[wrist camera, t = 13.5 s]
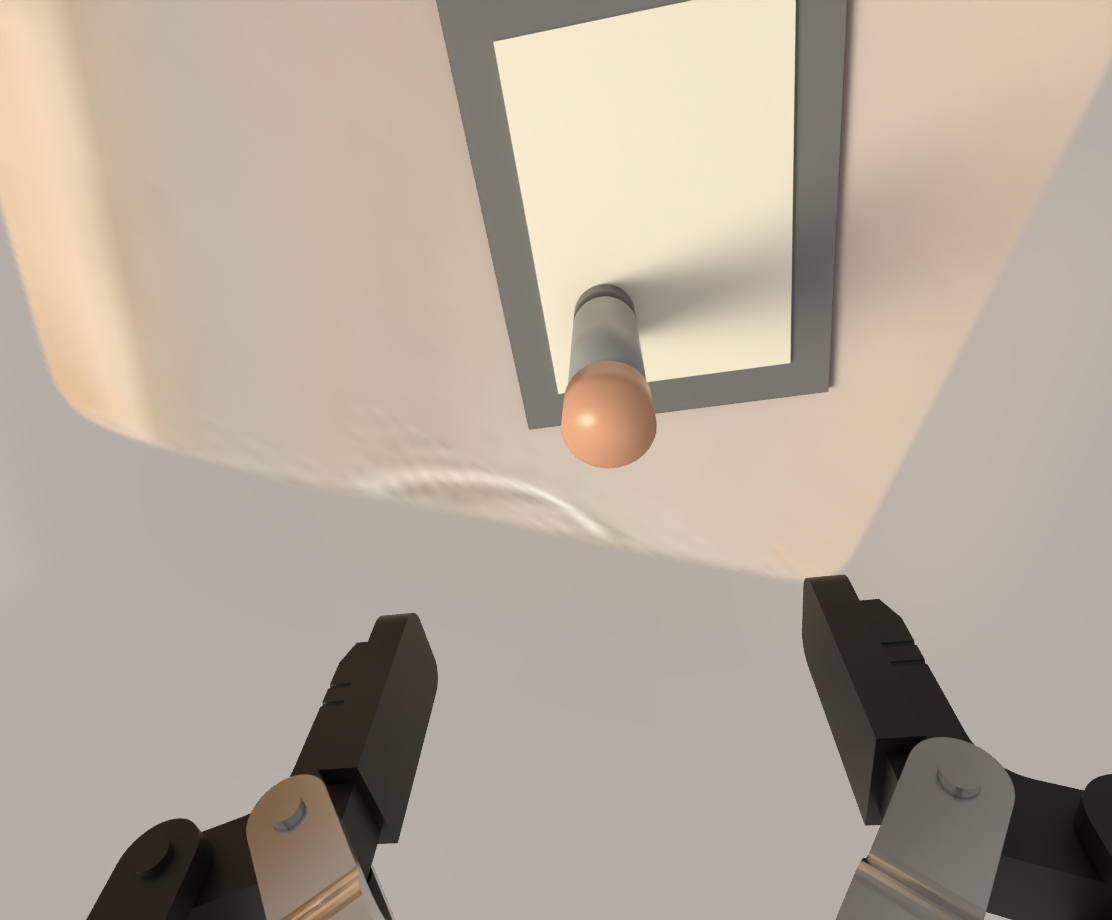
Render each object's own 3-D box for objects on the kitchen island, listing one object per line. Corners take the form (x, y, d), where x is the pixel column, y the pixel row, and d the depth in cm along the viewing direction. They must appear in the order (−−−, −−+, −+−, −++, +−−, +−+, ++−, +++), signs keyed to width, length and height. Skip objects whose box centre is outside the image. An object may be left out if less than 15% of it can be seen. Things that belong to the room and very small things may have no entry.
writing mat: (436, -6, 26) (433, -7, 26) (848, -97, 24) (853, -101, 24) (529, 426, 36) (528, 431, 36) (825, 388, 34) (829, 393, 34)
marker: (567, 287, 31) (553, 391, 21) (633, 277, 31) (651, 377, 21) (577, 348, 33) (569, 473, 23) (639, 340, 33) (660, 462, 22)
